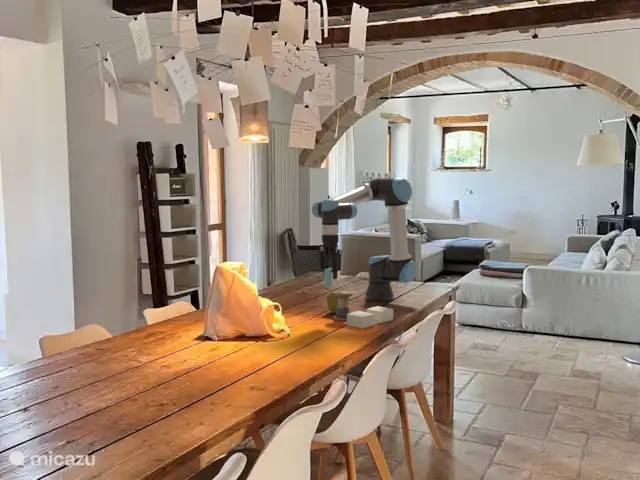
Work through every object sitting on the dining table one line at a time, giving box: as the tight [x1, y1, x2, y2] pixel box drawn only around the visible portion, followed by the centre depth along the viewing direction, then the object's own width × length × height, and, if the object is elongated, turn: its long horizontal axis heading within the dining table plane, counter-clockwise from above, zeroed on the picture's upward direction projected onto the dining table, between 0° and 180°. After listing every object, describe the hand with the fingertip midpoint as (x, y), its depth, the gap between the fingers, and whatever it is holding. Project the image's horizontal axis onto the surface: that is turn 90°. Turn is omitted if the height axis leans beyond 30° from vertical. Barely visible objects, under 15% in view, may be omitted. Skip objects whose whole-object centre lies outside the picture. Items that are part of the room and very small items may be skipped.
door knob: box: [332, 290, 353, 322], centre depth 288 cm, size 9×9×12 cm
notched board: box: [346, 305, 394, 329], centre depth 281 cm, size 22×9×5 cm, turn 137°
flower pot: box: [326, 292, 350, 314], centre depth 301 cm, size 9×9×9 cm
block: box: [324, 267, 334, 288], centre depth 283 cm, size 4×4×8 cm
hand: (330, 285), depth 283 cm, fingers closed on block, 3 cm apart
